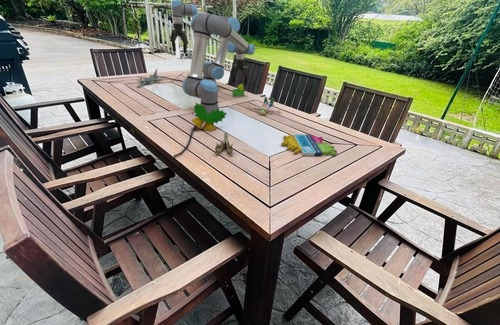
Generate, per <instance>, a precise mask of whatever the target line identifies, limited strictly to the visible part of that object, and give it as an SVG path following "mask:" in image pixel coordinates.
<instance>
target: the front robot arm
mask: <svg viewBox="0 0 500 325" xmlns="http://www.w3.org/2000/svg"><path fill="white" fill-rule="evenodd" d="M220 16H221V15H217V14H214V13H213V14H212V13H209V14H203V13H200V14H196V15H194V16H193V18H191V20H190V27H191V31H192V32H193V33H192V34H193V36H194V43H193V50H192V56H191V64H190V70H189V74H187V75H186V78H184V80H182V81H183V82H182V86H181V88H182V91H183V92H184V94H185V95H187V96H189V97H194V98H197V99H200V104H201V106H204V109H206V112H208V113H211V112H212V110H214V111H216V110H217V109H219V111H221V110H220V108H219V102H218V99H219V98H218V97H219V88H218V83H217V81H216V82H214V81H212V80H204V78H203V68H204V63H205V60H206V54H207V49H208V41H209V40H210V39H211V37H212V35H214V36H215V35H216V36H219V37H221V38H222V37H223V38H226V39H227V40H229V41H230V42H231V43H228V45H227V50H228V52H227V53H230V54H234V53H235V63H233V64H232V68H231V70H230V73H229V74H230V75H231V80H232V81H231V84H235V83H236V75H235V74H237V72H238V71H240V72H241V73H242V75H243V76H244V78H243V80H244V81H243V86H244V87H247V86H248V79H250V78H251V77H250V72H249V70H248V65H245V64H246V63H245V62H246V60H245V59H246V55H248V56H253V55H254V54H255V51H256V46H255V45H254V44H252V43H251V44H250V43H249V42H247V41H246V39H245V38H244V37H242V36H241V35H240V34H239V33H238V32H235V31H234V30H233V29H232V27H231V25H230V24H229V23H228V22H227V21H226V20H224V19H223V18H221V17H220ZM208 113H207V115H208ZM196 127H197V126H196V125H194V126H193V128H192V130H191V132H190V134H189V139H188V142H187V144H186V146H185V147H184V149H183V150H181V151H180V152H179V153H176V154H174V155H173V156H172V158H171V161H174V159H175V158H176V157H177V156H180V155H182V154H183V153H184V152H185V151H186V150H187V148H188V147H189V145H190V143H191V140H192V136H193V132H194V131H195V129H196Z"/></svg>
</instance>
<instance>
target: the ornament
mask: <svg viewBox="0 0 500 325" xmlns="http://www.w3.org/2000/svg"><path fill="white" fill-rule="evenodd" d="M219 110H220V108H219V109H217V110H216V111H214V110H212V112H211V113H208V112H206V109H204V106H201V103H198V102H195V105H194V106H193V112H194V113H195V118H192V119H191V122H192V123H193V125H194V126H196V127H197V128H198V129H202V130H203V131H206V132H212V131H213V132H214V131H215V130H216V126H215V124H218V123H219V122H223V119H226V115H227V114H228V113H227V112H224V110H223V109H221V110H220V111H219ZM207 113H208V115H207ZM214 123H215V124H214Z"/></svg>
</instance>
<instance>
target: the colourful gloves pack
mask: <svg viewBox="0 0 500 325" xmlns="http://www.w3.org/2000/svg"><path fill="white" fill-rule="evenodd" d="M280 145H281V146H282V147H286V150H287V151H289V150H290V152H293V151H294V152H293V154H294V155H298V153H300V152H301V154H302V156H304V157H322V156H328V155H331V156H333V157H334V156H336V154H337V152H338V150H337V149H335V145H329V143H328V142H327V141H324V142H323V137H322V136H319V137H317V136H316V135H311V134H305V133H302V134H301V133H295V134H293V135H289V134H288V135H283V141H282V142H281V144H280Z"/></svg>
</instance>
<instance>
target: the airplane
mask: <svg viewBox="0 0 500 325" xmlns="http://www.w3.org/2000/svg"><path fill="white" fill-rule="evenodd" d="M148 76H149V77H147V76H135V78H138V79H139V83H138V84H137V86H136V87H135V88H141V87H143V86H146V85H152V84H154V83H155V82H157V83H160V82H161V81H167V78H163V79H162V77H164V76H161V75H158V68H156V69H155V71H154V72H153V74H152V75H151V74H149V75H148Z"/></svg>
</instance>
